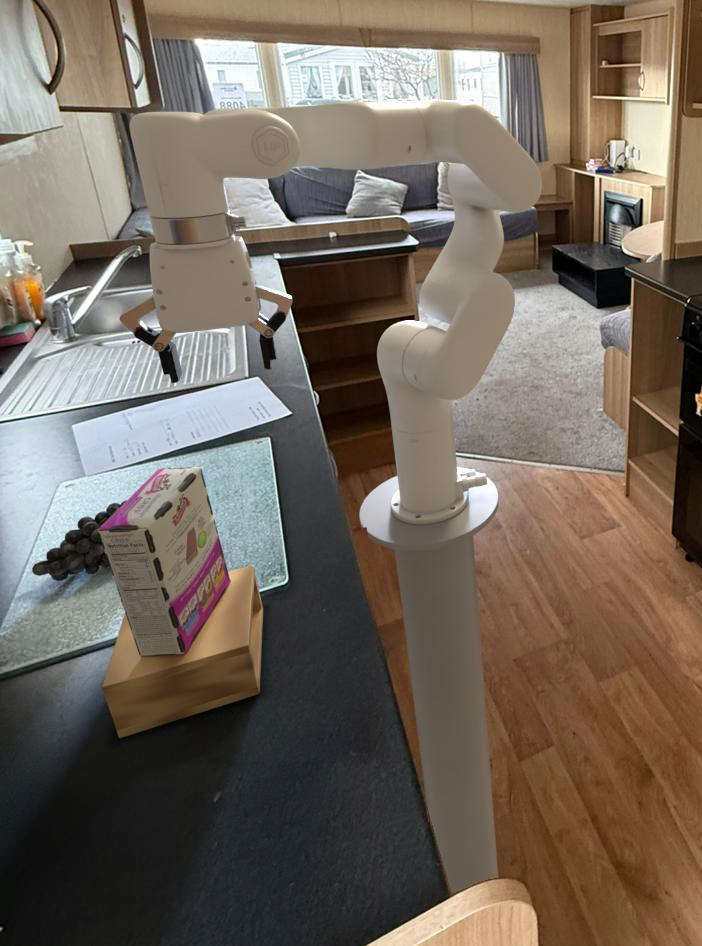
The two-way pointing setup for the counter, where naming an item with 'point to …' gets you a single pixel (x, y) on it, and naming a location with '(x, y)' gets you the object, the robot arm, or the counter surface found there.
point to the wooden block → (190, 665)
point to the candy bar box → (166, 560)
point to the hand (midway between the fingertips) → (223, 371)
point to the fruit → (78, 549)
